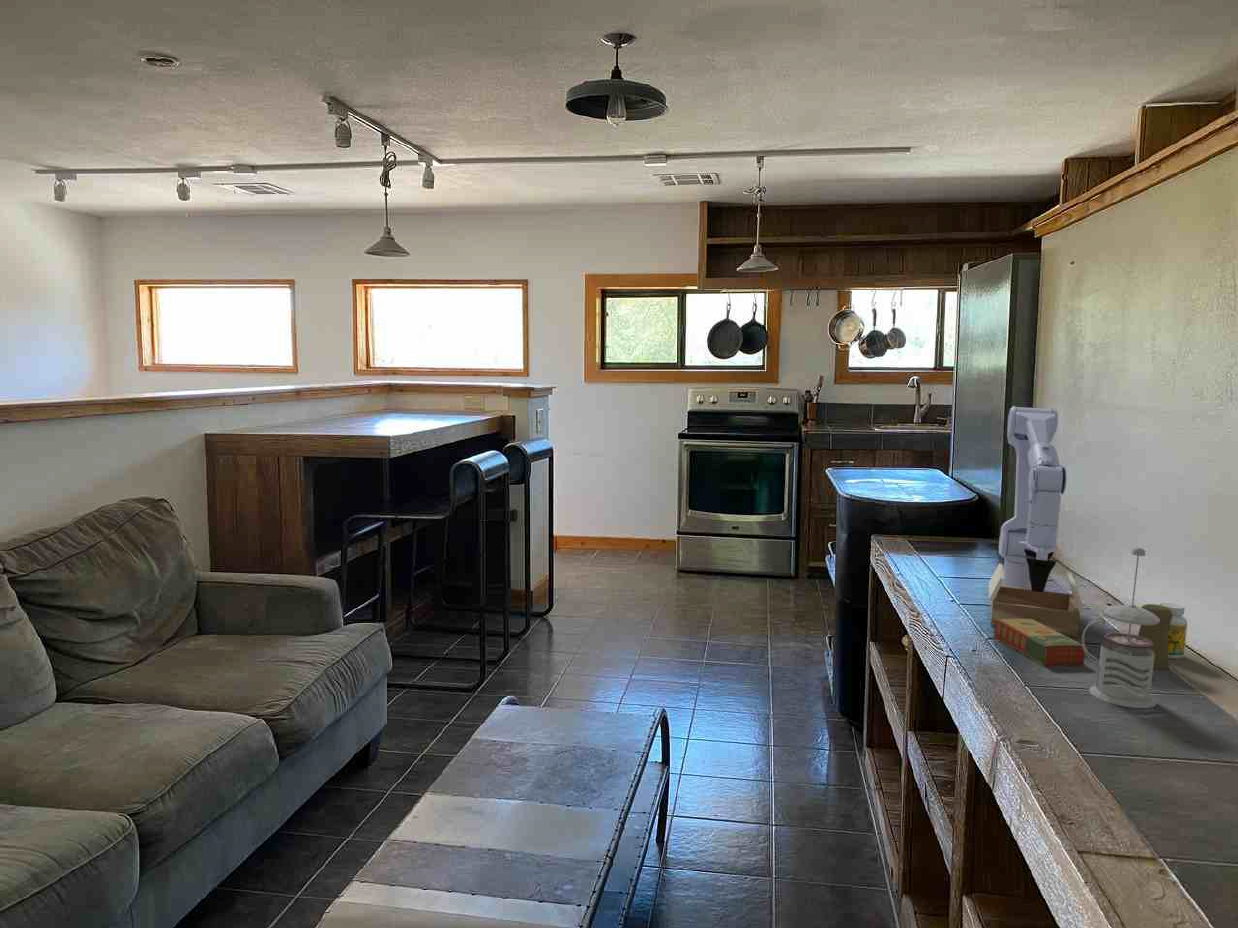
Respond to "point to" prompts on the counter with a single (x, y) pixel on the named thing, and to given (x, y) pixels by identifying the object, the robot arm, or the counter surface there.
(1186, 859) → the counter surface
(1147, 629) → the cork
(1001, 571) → the flap
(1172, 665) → the counter surface
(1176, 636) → the supplement bottle
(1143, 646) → the french press
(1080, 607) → the flap
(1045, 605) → the kraft box
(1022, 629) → the carton
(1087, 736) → the counter surface
